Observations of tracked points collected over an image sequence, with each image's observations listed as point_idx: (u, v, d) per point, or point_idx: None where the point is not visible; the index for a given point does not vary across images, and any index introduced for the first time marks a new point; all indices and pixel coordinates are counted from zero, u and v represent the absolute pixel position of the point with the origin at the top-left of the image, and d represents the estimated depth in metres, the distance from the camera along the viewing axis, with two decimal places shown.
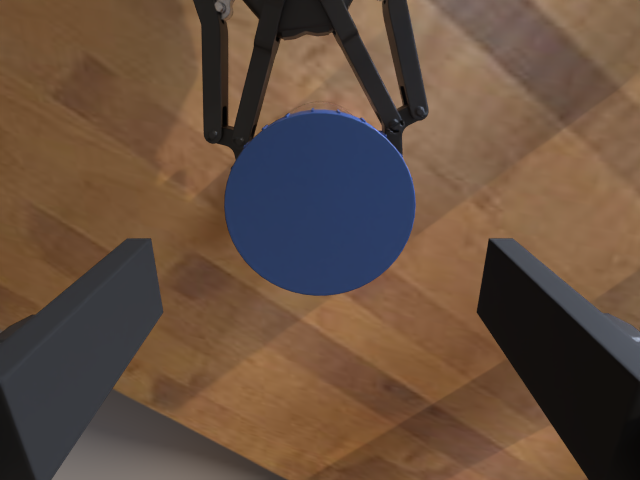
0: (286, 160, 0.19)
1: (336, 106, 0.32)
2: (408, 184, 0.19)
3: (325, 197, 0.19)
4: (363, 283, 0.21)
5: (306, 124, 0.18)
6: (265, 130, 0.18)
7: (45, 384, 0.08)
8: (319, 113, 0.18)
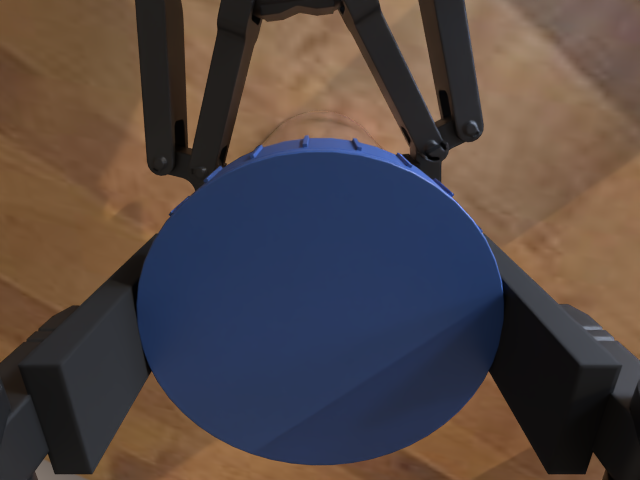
0: (253, 243, 0.09)
1: (343, 118, 0.23)
2: (493, 286, 0.10)
3: (331, 309, 0.10)
4: (398, 447, 0.12)
5: (292, 174, 0.09)
6: (208, 186, 0.09)
7: (96, 369, 0.08)
8: (319, 152, 0.09)
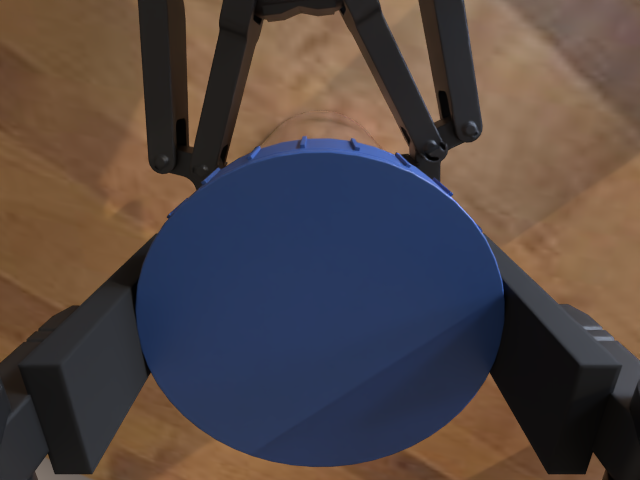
0: (227, 385, 0.11)
1: (343, 118, 0.23)
2: (253, 173, 0.09)
3: (290, 327, 0.10)
4: (486, 252, 0.09)
5: (161, 356, 0.10)
6: (181, 411, 0.11)
7: (96, 369, 0.08)
8: (139, 337, 0.10)
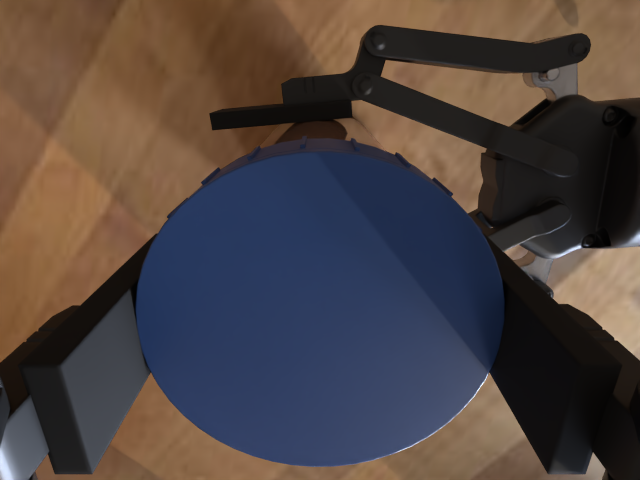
0: (227, 384, 0.11)
1: None
2: (253, 172, 0.09)
3: (290, 327, 0.10)
4: (486, 252, 0.09)
5: (161, 356, 0.10)
6: (181, 411, 0.11)
7: (96, 369, 0.08)
8: (139, 337, 0.10)
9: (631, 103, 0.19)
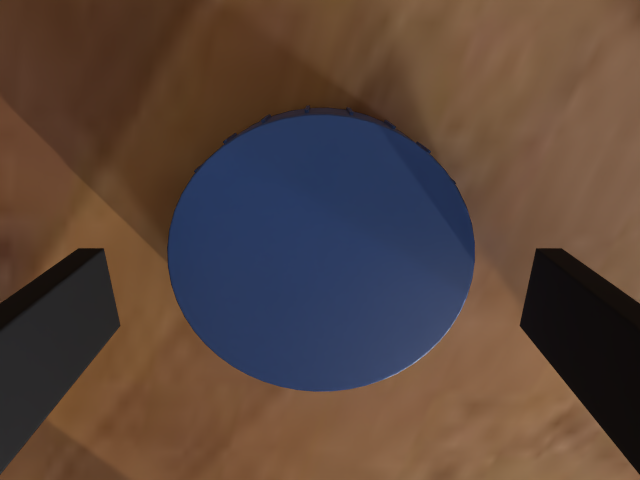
0: (242, 316, 0.13)
1: None
2: (267, 132, 0.11)
3: (296, 265, 0.12)
4: (458, 199, 0.11)
5: (188, 291, 0.13)
6: (204, 340, 0.13)
7: None
8: (170, 274, 0.12)
9: None
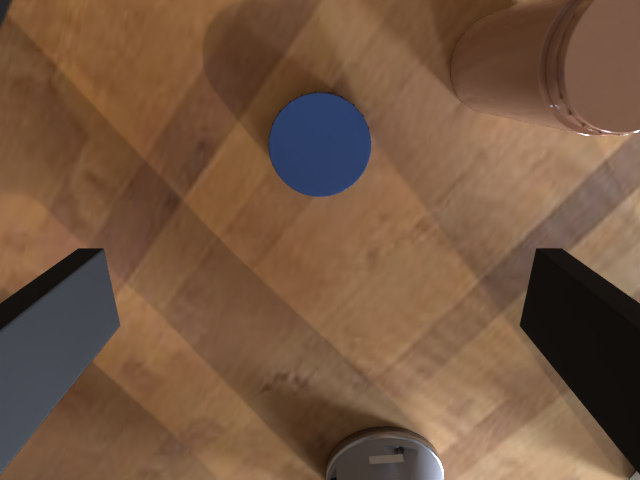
0: (292, 164, 0.37)
1: None
2: (303, 98, 0.35)
3: (311, 144, 0.37)
4: (363, 120, 0.36)
5: (274, 154, 0.37)
6: (278, 174, 0.38)
7: None
8: (269, 147, 0.37)
9: None
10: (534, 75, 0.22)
